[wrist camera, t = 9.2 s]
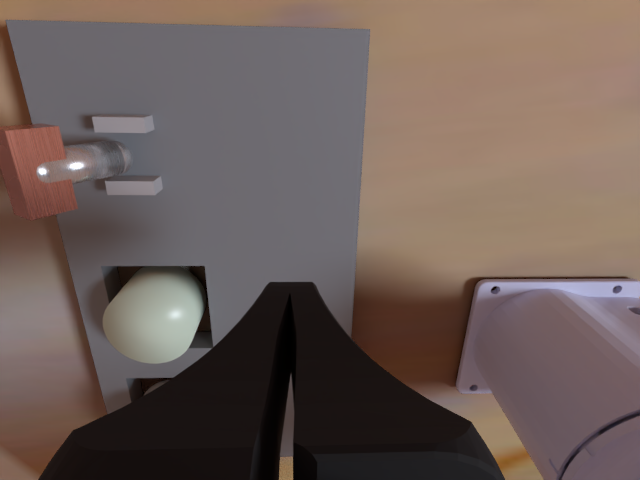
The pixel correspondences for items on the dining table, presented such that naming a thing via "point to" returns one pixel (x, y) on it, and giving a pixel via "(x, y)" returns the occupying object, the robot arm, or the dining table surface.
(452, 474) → the robot arm
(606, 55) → the dining table surface
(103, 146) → the toggle lever
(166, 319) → the sage button
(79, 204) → the panel
